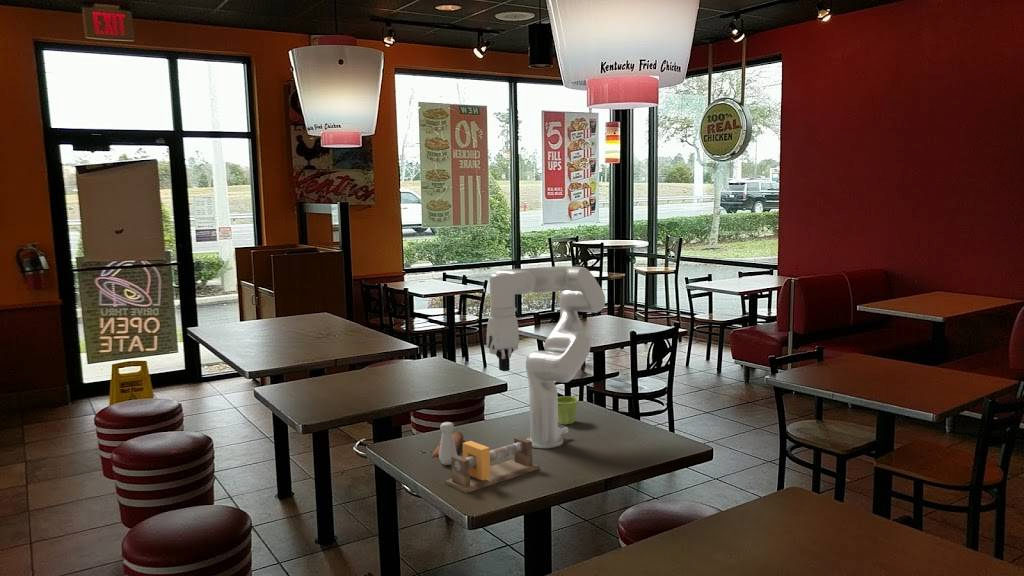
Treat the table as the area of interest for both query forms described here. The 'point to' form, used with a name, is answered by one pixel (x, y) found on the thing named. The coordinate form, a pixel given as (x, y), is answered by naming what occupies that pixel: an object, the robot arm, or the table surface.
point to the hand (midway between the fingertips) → (504, 370)
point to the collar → (478, 459)
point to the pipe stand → (497, 472)
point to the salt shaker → (447, 443)
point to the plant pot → (566, 409)
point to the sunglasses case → (457, 440)
